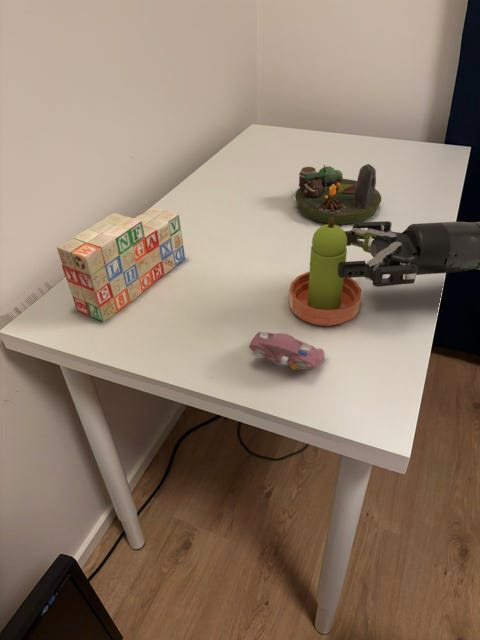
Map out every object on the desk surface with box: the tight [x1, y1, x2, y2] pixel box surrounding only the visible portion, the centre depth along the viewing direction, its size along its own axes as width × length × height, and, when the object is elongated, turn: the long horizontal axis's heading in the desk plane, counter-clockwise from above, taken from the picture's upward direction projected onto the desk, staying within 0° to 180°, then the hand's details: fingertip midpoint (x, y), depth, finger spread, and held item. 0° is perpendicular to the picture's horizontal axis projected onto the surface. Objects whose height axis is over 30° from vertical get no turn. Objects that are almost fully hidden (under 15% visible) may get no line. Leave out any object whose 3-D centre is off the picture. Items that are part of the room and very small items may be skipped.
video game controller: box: [248, 330, 325, 370], centre depth 66 cm, size 10×5×7 cm, turn 64°
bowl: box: [288, 271, 362, 327], centre depth 77 cm, size 11×11×3 cm
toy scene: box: [294, 163, 382, 225], centre depth 101 cm, size 18×18×11 cm
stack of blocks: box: [56, 206, 186, 323], centre depth 81 cm, size 21×6×12 cm, turn 147°
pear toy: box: [308, 217, 348, 310], centre depth 73 cm, size 5×5×15 cm
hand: (332, 254), depth 72 cm, fingers open, 8 cm apart
